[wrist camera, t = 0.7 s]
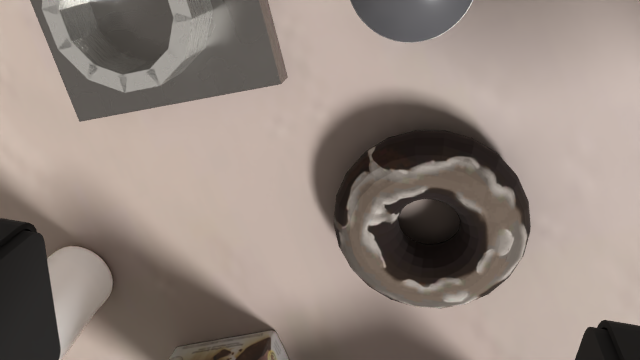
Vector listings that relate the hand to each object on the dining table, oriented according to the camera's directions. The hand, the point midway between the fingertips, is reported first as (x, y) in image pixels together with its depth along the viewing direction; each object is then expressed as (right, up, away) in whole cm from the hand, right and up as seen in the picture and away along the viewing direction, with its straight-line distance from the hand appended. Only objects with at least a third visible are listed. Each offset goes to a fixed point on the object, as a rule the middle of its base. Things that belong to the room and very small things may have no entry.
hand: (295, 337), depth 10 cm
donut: (+7, +1, +28) cm, 29 cm away
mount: (-10, +13, +25) cm, 30 cm away
